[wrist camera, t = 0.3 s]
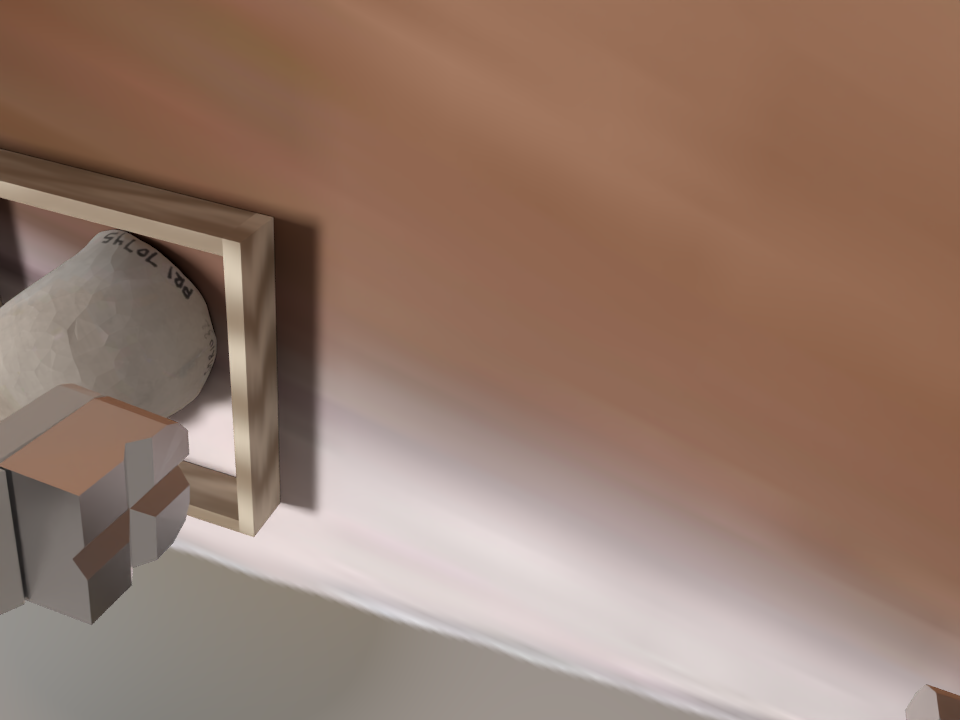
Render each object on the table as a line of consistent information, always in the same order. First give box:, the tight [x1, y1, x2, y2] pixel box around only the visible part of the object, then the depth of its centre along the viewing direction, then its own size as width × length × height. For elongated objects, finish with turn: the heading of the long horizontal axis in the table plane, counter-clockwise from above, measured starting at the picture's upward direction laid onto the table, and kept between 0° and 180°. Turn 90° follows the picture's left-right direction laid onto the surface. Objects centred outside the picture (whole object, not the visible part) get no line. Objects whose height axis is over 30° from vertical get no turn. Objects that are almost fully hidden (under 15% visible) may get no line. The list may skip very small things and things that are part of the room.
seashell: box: [0, 230, 217, 422], centre depth 63 cm, size 15×14×15 cm
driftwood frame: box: [0, 149, 280, 537], centre depth 64 cm, size 24×24×4 cm
